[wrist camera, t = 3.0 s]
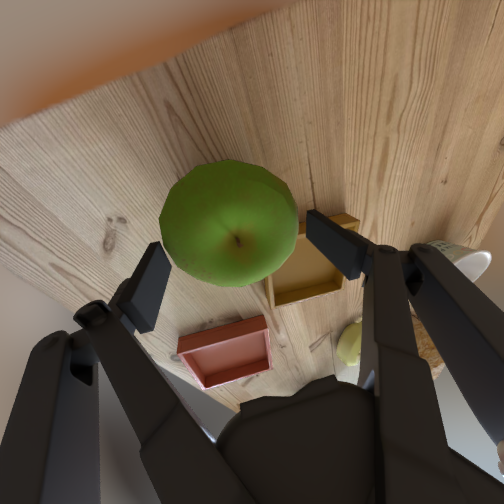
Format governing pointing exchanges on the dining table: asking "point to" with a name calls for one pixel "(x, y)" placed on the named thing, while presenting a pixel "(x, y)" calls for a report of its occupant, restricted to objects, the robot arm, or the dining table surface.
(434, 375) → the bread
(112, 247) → the dining table surface
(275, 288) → the ochre tray
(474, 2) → the dining table surface
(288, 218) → the apple
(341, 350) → the banana
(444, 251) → the food container
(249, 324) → the clay tray
